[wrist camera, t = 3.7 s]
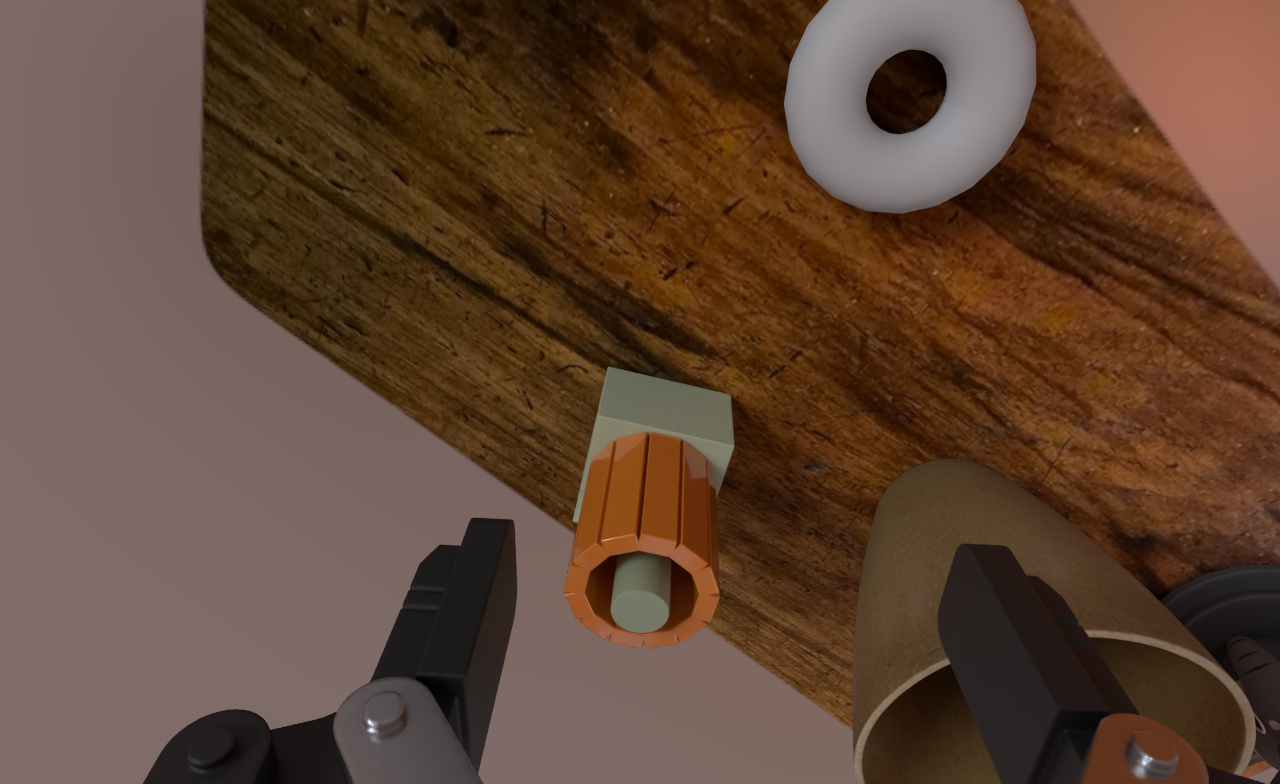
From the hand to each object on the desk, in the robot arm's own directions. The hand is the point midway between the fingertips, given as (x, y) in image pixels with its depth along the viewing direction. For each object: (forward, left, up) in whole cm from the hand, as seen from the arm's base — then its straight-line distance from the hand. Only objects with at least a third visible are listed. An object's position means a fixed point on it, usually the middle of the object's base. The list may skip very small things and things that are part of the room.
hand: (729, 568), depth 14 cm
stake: (+1, -14, -25) cm, 29 cm away
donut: (+7, +6, -25) cm, 27 cm away
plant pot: (+18, -15, -25) cm, 34 cm away
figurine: (+39, -19, -25) cm, 50 cm away
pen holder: (+1, -14, -20) cm, 25 cm away
